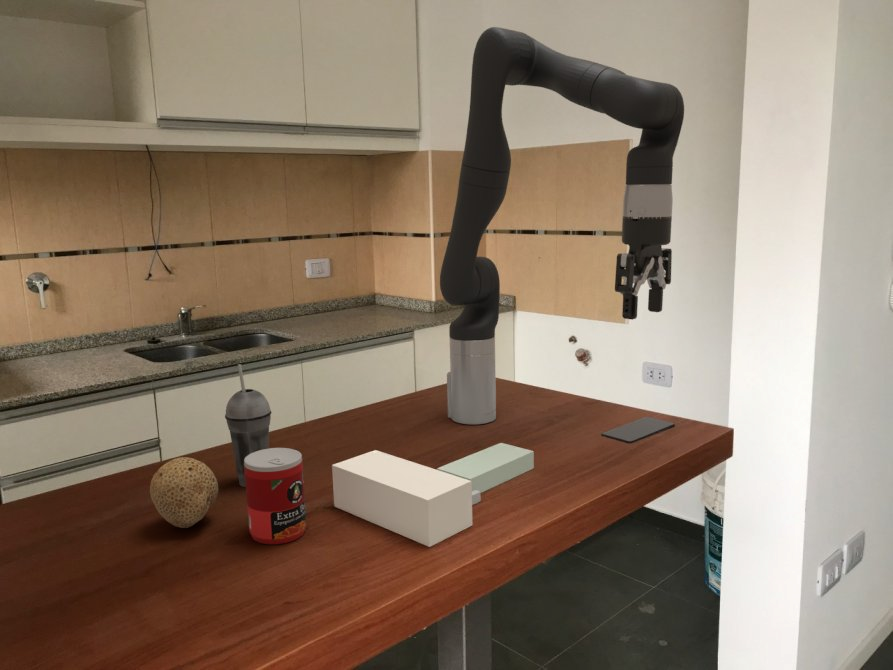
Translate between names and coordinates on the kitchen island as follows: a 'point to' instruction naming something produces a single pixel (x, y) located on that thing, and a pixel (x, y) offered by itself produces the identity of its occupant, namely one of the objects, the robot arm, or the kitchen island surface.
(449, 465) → the sage green bar
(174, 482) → the natural sponge
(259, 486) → the canned food
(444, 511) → the cream rectangular prism
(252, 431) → the beverage cup
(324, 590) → the kitchen island surface
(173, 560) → the kitchen island surface
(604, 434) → the smartphone
